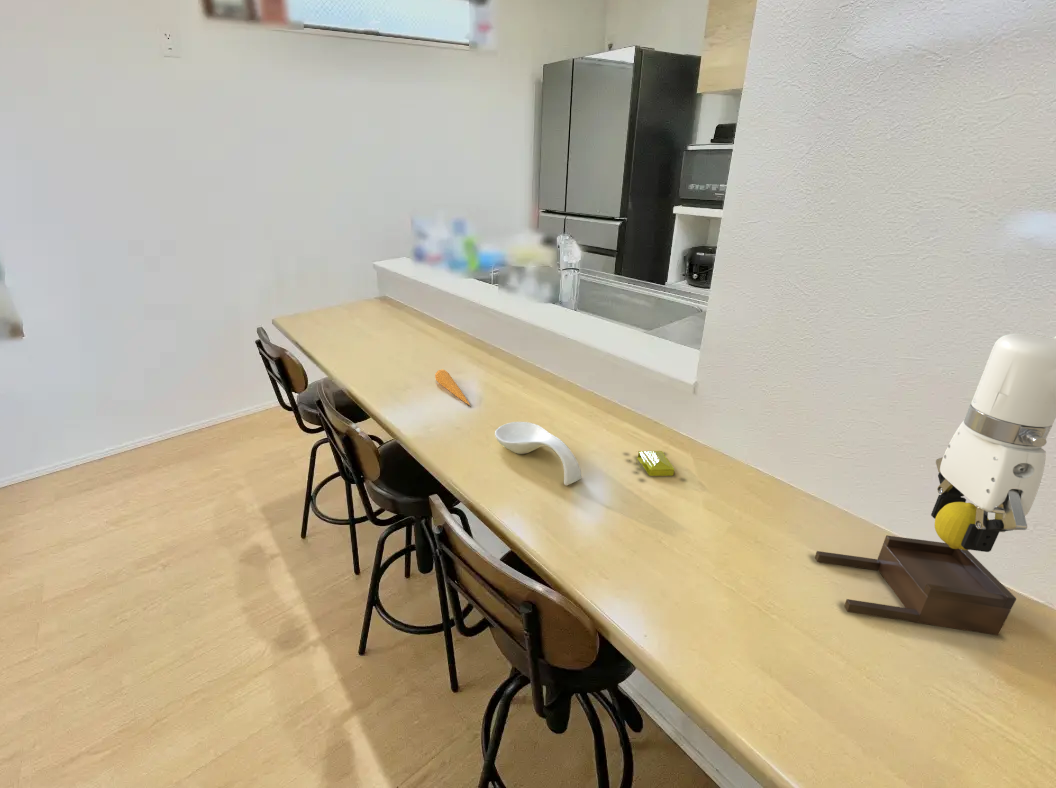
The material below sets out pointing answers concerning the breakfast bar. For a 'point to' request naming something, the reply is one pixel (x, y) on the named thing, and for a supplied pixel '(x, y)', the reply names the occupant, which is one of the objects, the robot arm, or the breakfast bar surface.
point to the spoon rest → (538, 445)
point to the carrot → (449, 384)
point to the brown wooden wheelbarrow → (932, 585)
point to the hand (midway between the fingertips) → (959, 532)
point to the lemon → (955, 522)
